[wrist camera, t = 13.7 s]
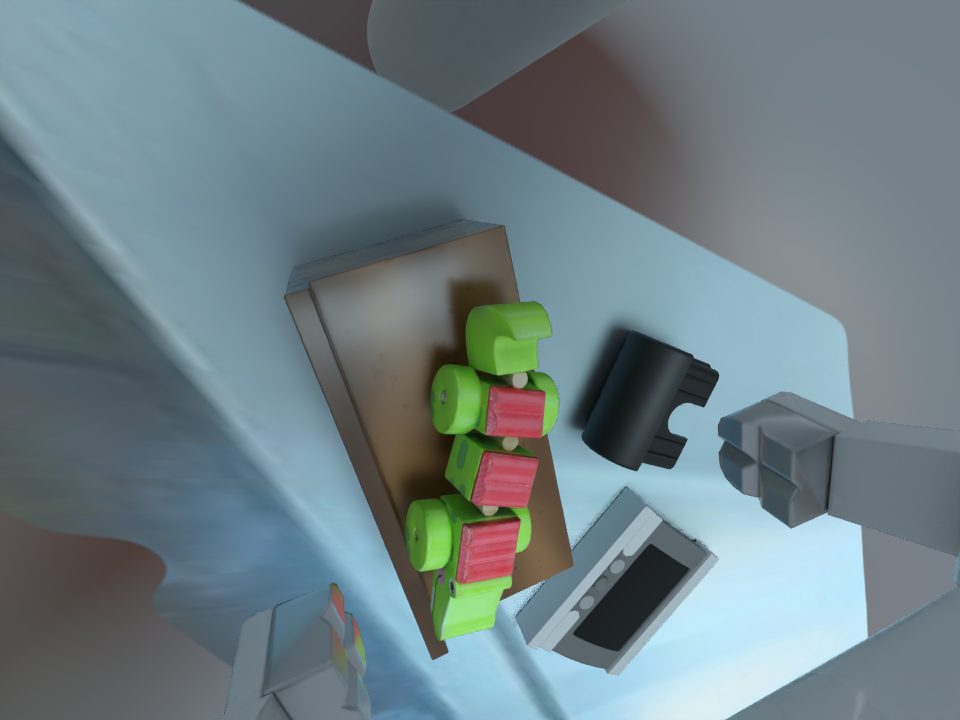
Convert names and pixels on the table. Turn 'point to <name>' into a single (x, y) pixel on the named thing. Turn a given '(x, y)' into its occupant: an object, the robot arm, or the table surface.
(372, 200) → the table surface
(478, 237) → the shoe shelf
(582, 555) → the alarm clock
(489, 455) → the toy crocodile
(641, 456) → the end cap
